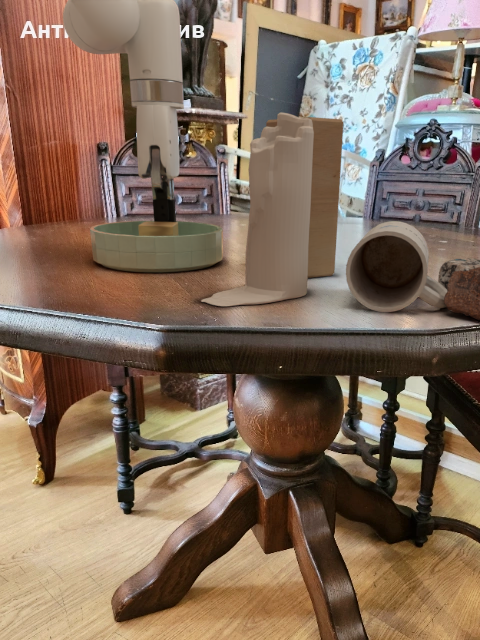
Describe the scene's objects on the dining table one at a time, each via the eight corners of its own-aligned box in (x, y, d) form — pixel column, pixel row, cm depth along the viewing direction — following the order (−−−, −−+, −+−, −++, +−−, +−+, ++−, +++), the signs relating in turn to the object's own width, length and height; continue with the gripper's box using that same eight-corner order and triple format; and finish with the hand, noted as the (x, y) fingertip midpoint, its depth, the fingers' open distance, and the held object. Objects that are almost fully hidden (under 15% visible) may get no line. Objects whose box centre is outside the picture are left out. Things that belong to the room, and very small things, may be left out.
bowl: (76, 272, 76) (71, 234, 74) (112, 250, 94) (109, 219, 92) (217, 275, 77) (216, 238, 75) (226, 252, 95) (226, 222, 93)
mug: (343, 258, 70) (329, 273, 61) (392, 205, 66) (386, 213, 57) (413, 326, 71) (409, 350, 62) (465, 277, 67) (470, 296, 58)
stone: (464, 273, 63) (452, 259, 61) (529, 270, 58) (518, 255, 56) (450, 326, 62) (437, 314, 60) (514, 328, 57) (503, 315, 55)
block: (140, 259, 83) (138, 225, 81) (147, 254, 87) (145, 221, 86) (174, 260, 83) (172, 225, 81) (179, 255, 88) (178, 222, 86)
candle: (189, 298, 64) (182, 104, 56) (279, 283, 73) (283, 114, 65) (228, 311, 59) (225, 100, 52) (319, 293, 68) (328, 112, 60)
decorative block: (262, 265, 85) (264, 119, 77) (294, 262, 87) (299, 122, 80) (302, 279, 76) (308, 116, 68) (336, 275, 79) (345, 119, 71)
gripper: (142, 100, 89) (150, 220, 96) (119, 91, 75) (131, 231, 82) (189, 101, 89) (194, 221, 96) (175, 92, 75) (182, 232, 82)
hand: (165, 225), depth 89 cm, fingers closed
